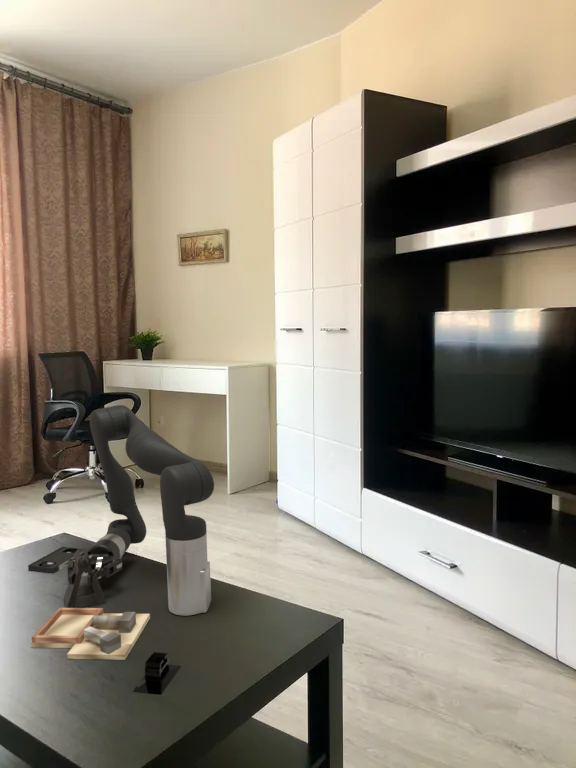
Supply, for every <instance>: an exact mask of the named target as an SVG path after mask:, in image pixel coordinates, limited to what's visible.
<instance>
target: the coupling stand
mask: <svg viewBox="0 0 576 768" xmlns="http://www.w3.org/2000/svg"><path fill="white" fill-rule="evenodd" d="M150 619H151V613H136V611H124V612H123V613H120V612H119V613H118V612H117V613H111V612H110V613H104V608H103V607H86V608H66V607H59V608H58V609H57V610H56V611H55V612H54V613H53V614H52V615H51V616H50V617H49V618H48V620H46V622H44V624H43V625H41V627H39V629H38V630H37V631H36V632H35V633H34V634H33V635H32V636H31V642H30V645H31V646H30V647H31V648H34V649H36V648H38V649H42V648H43V649H70V650H69V651H68V652H67V653H66V656H67V657H66V658H67V660H111V661H112V660H117V661H120V660H121V661H122V660H123V661H125V660H126V659H127V658H128V656H129V654H130V652H131V651H132V649H133V647H134V646H135V644H136V642H137V640H139V638H140V635H141V634H142V633H143V631H144V629H145V627H147V624H148V623H149V620H150Z"/></svg>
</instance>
